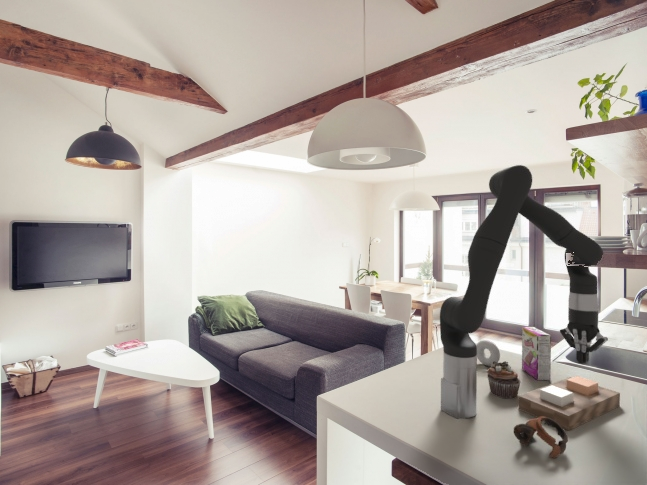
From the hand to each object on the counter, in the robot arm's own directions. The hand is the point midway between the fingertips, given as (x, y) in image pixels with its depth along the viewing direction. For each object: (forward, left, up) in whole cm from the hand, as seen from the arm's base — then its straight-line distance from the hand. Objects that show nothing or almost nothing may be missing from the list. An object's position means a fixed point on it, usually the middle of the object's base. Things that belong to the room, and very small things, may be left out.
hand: (582, 363), depth 115 cm
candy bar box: (+9, +20, -12) cm, 25 cm away
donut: (+2, +35, -12) cm, 37 cm away
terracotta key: (0, 0, -9) cm, 9 cm away
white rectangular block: (-14, 0, -9) cm, 17 cm away
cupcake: (-15, +16, -12) cm, 25 cm away
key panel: (-7, 0, -12) cm, 14 cm away
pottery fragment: (-36, -7, -12) cm, 38 cm away
